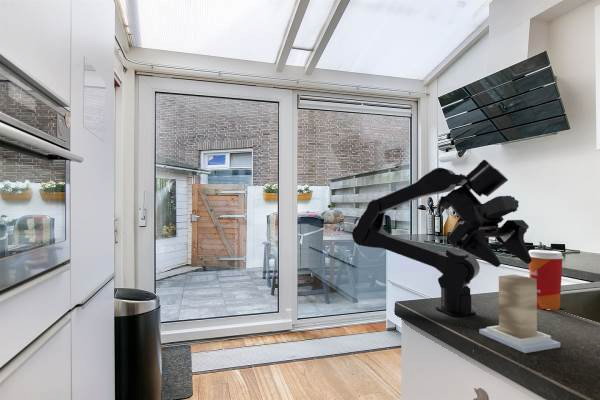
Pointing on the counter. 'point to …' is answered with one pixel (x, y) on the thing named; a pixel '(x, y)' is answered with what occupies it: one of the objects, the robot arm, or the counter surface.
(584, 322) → the counter surface
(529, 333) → the birch pillar
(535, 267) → the paper cup
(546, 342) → the board
